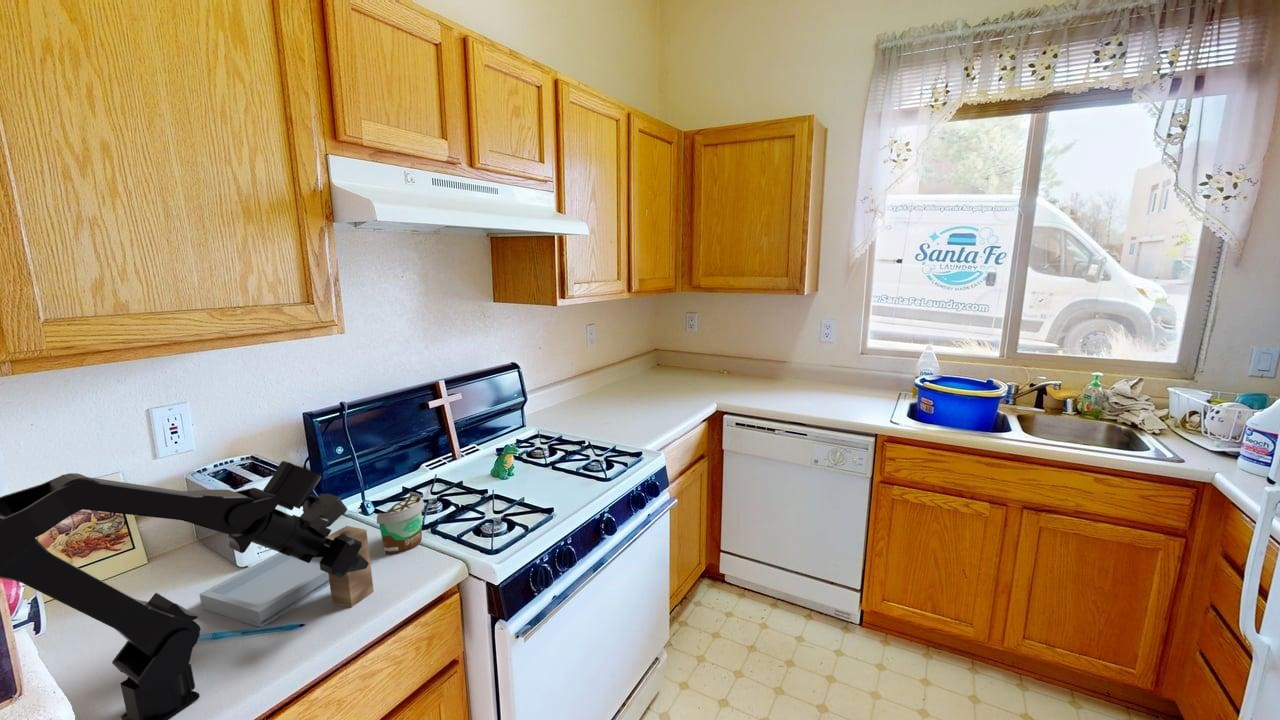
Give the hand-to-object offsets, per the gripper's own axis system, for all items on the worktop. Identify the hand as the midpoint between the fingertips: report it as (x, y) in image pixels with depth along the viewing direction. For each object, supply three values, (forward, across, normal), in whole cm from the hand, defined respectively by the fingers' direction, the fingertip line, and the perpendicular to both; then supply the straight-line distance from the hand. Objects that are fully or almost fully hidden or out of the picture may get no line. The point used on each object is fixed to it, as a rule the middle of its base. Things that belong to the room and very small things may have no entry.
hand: (351, 559), depth 101 cm
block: (+5, 0, +6) cm, 7 cm away
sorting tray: (+2, +16, +9) cm, 18 cm away
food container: (+18, +7, -7) cm, 20 cm away
